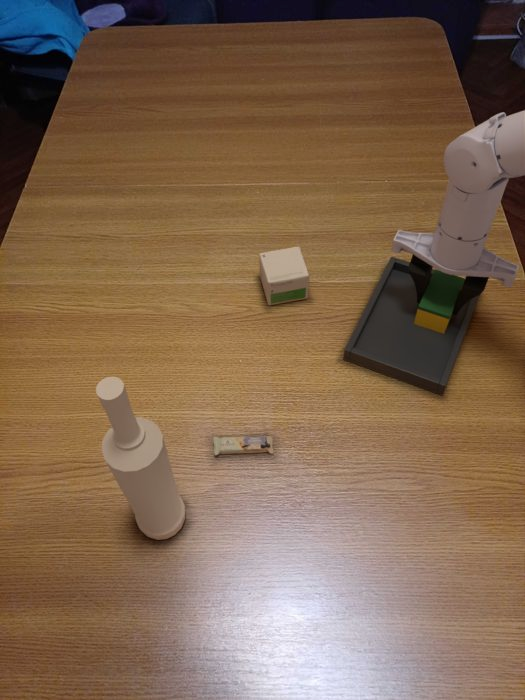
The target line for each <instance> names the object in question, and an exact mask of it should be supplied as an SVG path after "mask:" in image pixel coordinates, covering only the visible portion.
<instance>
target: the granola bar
mask: <svg viewBox="0 0 525 700" xmlns="http://www.w3.org/2000/svg"><path fill="white" fill-rule="evenodd" d="M273 447H274V446H273V435H268V436H267V435H249V436H248V435H247V436H226V437H217V436H213V450H214V451H213V453H214V456H218V455H220V454H221V455H226V454H227V455H230V454H231V455H233V454H253V453H254V454H255V453H256V454H257V453H269V454H274V448H273Z"/></svg>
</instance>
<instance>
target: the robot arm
mask: <svg viewBox="0 0 525 700" xmlns="http://www.w3.org/2000/svg"><path fill="white" fill-rule="evenodd" d="M443 166H444V167H443V168H444V171H445V174H446V176H447V177H448V181H447V185H446V189H445V193H444V197H443V200H442V204H441V208H440V212H439V215H438V219H437V223H436V227H435V230H434V232H433V233H430V232H429V233H428V232H412V231H405V230H401V229H398V230H397V232H396V234H395V236H394V237H393V240H392V244H391V248H390V249H391V250H390V251H391V252H392V253H396V254H401V252H402V251H403V252H405V253H408V254H411V259H410V261H409V262H410V264H409V266H408V272H409V274H410V275H411V277H412V279H413V281H414V284H415V287H416V293H417V303H420V302H421V299H422V297H423V295H424V293H425V290H426V288H427V286H428V283H429V281H430V276H431V271H432V269H436V270H439V271H441V272H443V273H446V274H450V275H455V276H458V277H464V278H465V281H464V283H463V286H462V289H461V291H460V293H459V296H458V299H457V301H456V304H455V306H454V309H453V312H452V314H453V315H457V314H458V312H459V311H460V309H461V308H462V307H463V306H464V305H465V304H466V303H467V302H468V301H470V300H471V299H473V298H474V297H476V296H479V297H480V295H481V294H482V293H483V292H484V291H485V290H486V287H487V284H488V281H489V279H490V278H491V279H494V280H498V281H500V282H501V285H502V286H503V287H507V288H512V286H513V285H514V282H515V280H516V277H517V275H518V272H519V269H520V265H519V264H516V263H513V262H511V261H509V260H507V259H505V258H503V257H501V256H499V255H498V254H496V253H494V252H492V251H491V250H489V249H488V248H485V246H486V242H487V240H488V238H489V235H490V231H491V228H492V226H493V223H494V221H495V217H496V215H497V212H498V210H499V208H500V204H501V201H502V199H503V195H504V192H505V190H506V187H507V184H508V183H509V180H510V179H514V178H519V177H523V176H525V109H524V110H521V111H518V112H515V113H512V114H510V115H507V114H506V112H504V111H503V112H499V113H497V114H495V115H493V116H491V117H490V118H489V119H486V120H485V121H483V122H481V123H480V124H478V125H477V126H475V127H473V128H472V129H470V130H468V131H466V132H464V133H463V134H460V135H459V136H458V137H456V138H455V139H454V140H452V141H451V142H449V144H448V145H446V148H445V151H444V154H443Z"/></svg>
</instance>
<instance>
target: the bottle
mask: <svg viewBox="0 0 525 700" xmlns="http://www.w3.org/2000/svg"><path fill="white" fill-rule="evenodd" d="M95 393H96V395H97V398H98V400H99V402H100V405H101V408H102V409H103V410H104V411H105V414H106V416H107V418H108V421H109V423H110V425H111V427H110V428H109V429H108V430H107V432H106V433H105V435H104V437H103V439H102V441H101V453H102V457H103V458H104V461H105V463H106V465H107V467H108V468H109V470H110V472H111V474H112V476H113V477H114V479H115V482H116V483H117V485H118V486H119V489H120V490H121V492H122V494H123V495H124V497H125V500H126V501H127V503H128V504H129V507H130V508H131V510H132V512H133V513H134V519H135V522H136V524H137V526H138V528H139V530H140V531H141V532H142V533H143V534H144V535H145V536H146V537H148V538H151V539H154V540H157V541H158V540H159V541H160V540H168V539H169V538H172V537H173V536H176V535H177V534H178V532H179V531H180V530H181V529H182V528H183V525H184V523H185V520H186V505H185V503H184V501H183V499H182V496H181V495H180V494H179V490H178V486H177V483H176V479H175V475H174V472H173V468H172V464H171V461H170V456H169V454H168V449H167V446H166V443H165V439H164V436H163V433H162V431H161V428H160V427H159V425H157V424H156V423H155V422H153V420H151V419H149V418H145V417H142V416H135V412H134V410H133V408H132V405H131V403H130V398H129V395H128V392H127V390H126V387H125V384H124V381H123V380H122V379H121V378H119V377H117V376H106V377H105V378H102V379H101V380H100V381H99V382H98V383H97V385H96V387H95Z"/></svg>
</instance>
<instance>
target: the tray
mask: <svg viewBox="0 0 525 700" xmlns="http://www.w3.org/2000/svg"><path fill="white" fill-rule="evenodd" d="M409 264H410V261H407V260H404V259H401V258H398V257H394V256H390V258H389V260H388V262H387V263H386V266H385V268H384V271H383V272H382V274H381V276H380V278H379V280H378V282H377V284H376V286H375V288H374V290H373V292H372V294H371V296H370V298H369V300H368V302H367V303H366V306H365V308H364V310H363V312H362V314H361V316H360V317H359V320H358V322H357V324H356V325H355V328H354V330H353V332H352V334H351V336H350V338H349V340H348V341H347V343H346V346H345V348H344V350H343V358H342V360H343V361H346V362H348V363H352V364H354V365H357V366H360V367H363V368H365V369H369V370H371V371H374V372H377V373H379V374H382V375H384V376H387V377H390V378H393V379H395V380H398V381H401V382H403V383H406V384H409V385H412V386H415V387H418V388H420V389H423V390H425V391H428V392H431V393H433V394H437V395H440V396H443V394H444V392H445V390H446V387H447V384H448V383H449V379H450V376H451V374H452V371H453V368H454V366H455V362H456V360H457V357H458V354H459V353H460V352H459V351H460V349H461V347H462V344H463V341H464V338H465V335H466V332H467V330H468V327H469V325H470V322H471V319H472V317H473V313H474V311H475V308H476V305H477V302H478V299H479V297H480V295H479V296H476V297H474V298H473V299H471V300H470V301H468V302H467V303H466V304H465V305H464V306H463V307H462V308H461V309H460V311H459V312H458V314H457V315H453V314H452V315H451V318H450V320H449V323H448V326H447V328H446V331H445V333H444V334H443V333H440V332H437V331H434V330H431V329H428V328H425V327H422V326H419V325H416V324H414V321H415V317H416V314H417V310H418V306H419V304H420V303H417V293H416V287H415V284H414V281H413V279H412V277H411V275H410V274H409V272H408V266H409ZM434 270H435V268H432V271H431V276H430V279H431V277H432V274H433V272H434ZM464 281H465V280H464Z"/></svg>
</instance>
